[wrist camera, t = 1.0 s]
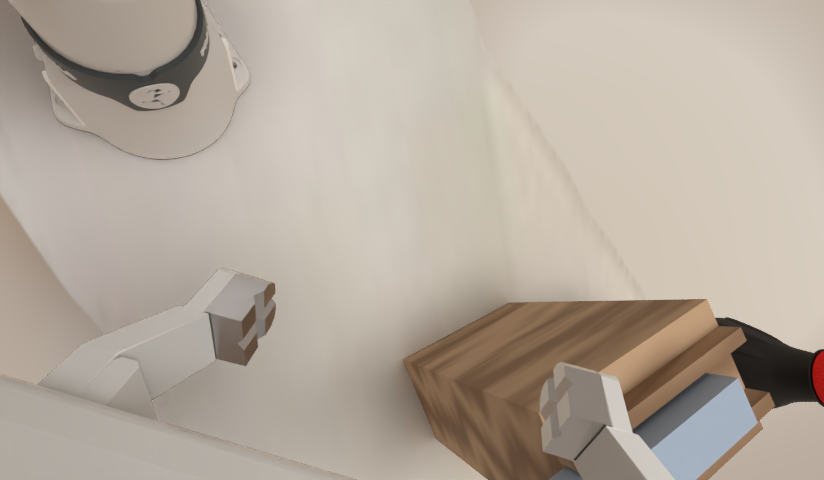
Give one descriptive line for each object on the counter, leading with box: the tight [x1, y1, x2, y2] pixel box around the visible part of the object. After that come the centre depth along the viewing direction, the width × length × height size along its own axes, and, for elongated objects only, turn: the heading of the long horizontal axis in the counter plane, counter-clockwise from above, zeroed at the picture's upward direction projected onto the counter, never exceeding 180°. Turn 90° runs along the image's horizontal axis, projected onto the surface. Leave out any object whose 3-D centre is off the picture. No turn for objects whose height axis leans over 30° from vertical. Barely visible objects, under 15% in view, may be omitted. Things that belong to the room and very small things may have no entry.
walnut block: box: [403, 299, 775, 480], centre depth 38 cm, size 10×16×28 cm, turn 114°
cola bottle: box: [715, 318, 824, 409], centre depth 42 cm, size 8×8×30 cm
